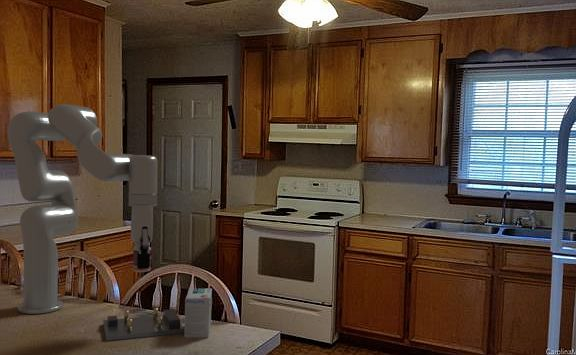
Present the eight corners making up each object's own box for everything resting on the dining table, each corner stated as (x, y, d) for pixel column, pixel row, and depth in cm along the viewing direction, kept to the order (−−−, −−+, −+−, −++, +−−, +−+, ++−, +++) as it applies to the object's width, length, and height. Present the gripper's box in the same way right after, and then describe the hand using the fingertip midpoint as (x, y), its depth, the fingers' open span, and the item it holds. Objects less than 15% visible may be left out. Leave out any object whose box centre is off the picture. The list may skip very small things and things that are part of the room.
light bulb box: (187, 325, 151) (188, 287, 151) (211, 325, 152) (212, 287, 151) (183, 338, 140) (184, 297, 140) (209, 338, 141) (210, 297, 141)
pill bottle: (145, 273, 143) (146, 242, 143) (129, 271, 144) (130, 241, 144) (153, 269, 148) (154, 239, 147) (138, 268, 149) (138, 238, 148)
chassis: (103, 324, 149) (103, 309, 149) (174, 318, 157) (174, 304, 157) (106, 340, 136) (106, 324, 136) (183, 333, 144) (184, 317, 144)
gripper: (125, 197, 152) (125, 261, 152) (131, 203, 136) (131, 273, 137) (152, 197, 155) (151, 259, 155) (161, 202, 139) (160, 271, 139)
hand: (142, 265), depth 146 cm, fingers closed on pill bottle, 4 cm apart
